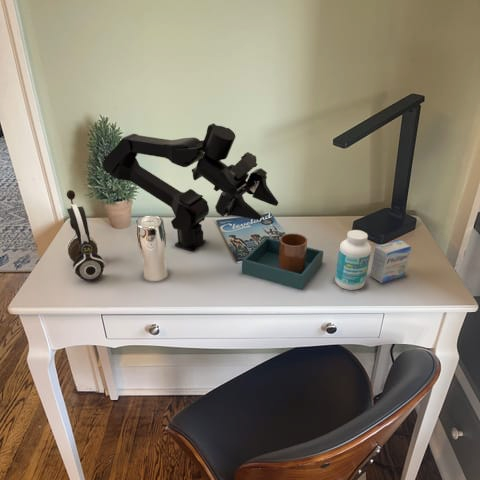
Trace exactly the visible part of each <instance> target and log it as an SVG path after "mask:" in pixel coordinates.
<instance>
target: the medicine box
mask: <svg viewBox="0 0 480 480" xmlns="http://www.w3.org/2000/svg"><path fill="white" fill-rule="evenodd" d="M373 250H374V251H373V257H372V263H371V268H370V273H369V274H370V275H369V276H370V277H371V278H372V279H374V280H376V281H377V282H379V284H384V283H388V282H390V281H393V280H396V279H399V278H402V277H405V275H406V272H407V268H408V262H409V258H410V254H411V250H412V246H411V245H409V244H408V243H407V242H405V241H403V240H401V239H398V240H395V241H394V240H393V241H390V242H387V243H384V244H379V245H375V246H374V249H373Z"/></svg>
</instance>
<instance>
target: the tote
mask: <svg viewBox="0 0 480 480" xmlns="http://www.w3.org/2000/svg"><path fill="white" fill-rule="evenodd" d="M279 244H280V239H276V238H272V237H265V238H264V239H262V240H261V241H260V242H259V243H258V244H257V245H256V246H255V247H254V248H253V249H252V250H251V251H250V252H249V253H248V254H246V256H244V257H243V258H242V260H241V274H243V275H246V276H249V277H254V278H257V279H261V280H264V281H267V282H270V283H275V284H278V285H281V286H286V287H289V288H293V289H296V290H300V291H303V289H304V288H305V287H306V285H307V284H308V283H309V282H310V280H311V279H312V278H313V276H314V275H315V274H316V273H317V271H318V270H319V269H320V268H321V266H322V265H323V260H324V250H320V249H316V248H313V247H308V246H307V250H306V262H305V270H304V271H303V273H302V274H299V273H295V272H291V271H287V270H284V269H280V268H278V264H279Z"/></svg>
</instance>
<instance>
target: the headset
mask: <svg viewBox="0 0 480 480" xmlns="http://www.w3.org/2000/svg"><path fill="white" fill-rule="evenodd" d="M66 197H67V199H68V200H70V203H71V204H70V208H66V211H67V214H68V217H69V224H70V227H71V229H73V232H74V235H73V236H72V237H71V238H70V240H69V241H68V242H67V244H66V251H67V253H68V256H69V259H70V260H71V261H73V264H72V269H73V272H74V273H75V275H76V276H78V277H79V278H80V279H81V280H83V281H87V282H92V281H95V280H97V279H99V278H100V277H101V276H102V275H103V272H104V269H105V266H106V261H105V260H103V257H101V255H100V254H98V251H99V249H98V244H97V242H96V240H95V239H94V238H93V237H91V236H90V232H89V231H90V230H89V224H88V220H87V215H86V211H85V208H84V206H83V205H82V206H78V205H77V204H76V203H74V202H73V200H74V199H75V198H76V193H75V191H74V190H71V189H70V190H67V192H66ZM75 237H76V238H75Z"/></svg>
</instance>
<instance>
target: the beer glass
mask: <svg viewBox="0 0 480 480" xmlns="http://www.w3.org/2000/svg"><path fill="white" fill-rule="evenodd" d="M134 223H135V237H136V242H137V247H138V250H139V253H140V256H141V260H142V262H143V278H144V279H145V280H146V281H149V282H160V281H163V280H164V279H166V278H167V277H168V274H169V273H168V269H167V266H166V262H165V261H166V247H167V238H166V237H167V236H166V230H165V229H166V228H165V225H164V224H165V223H164V220H163V218H162V217H160V216H157V215H145V216H141V217H139V218H138V219H136V220H135V222H134Z"/></svg>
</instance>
